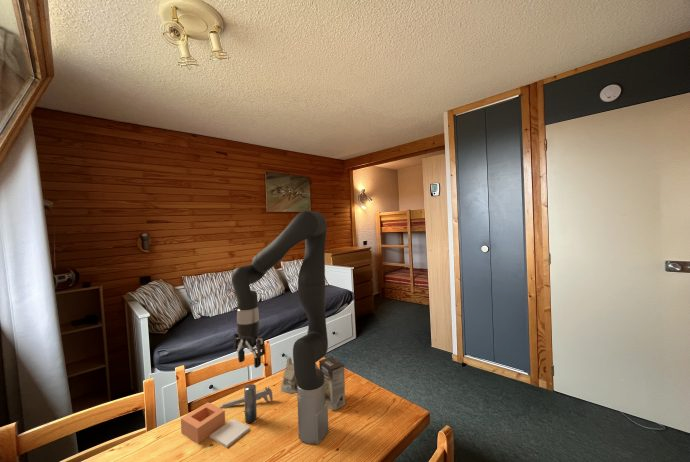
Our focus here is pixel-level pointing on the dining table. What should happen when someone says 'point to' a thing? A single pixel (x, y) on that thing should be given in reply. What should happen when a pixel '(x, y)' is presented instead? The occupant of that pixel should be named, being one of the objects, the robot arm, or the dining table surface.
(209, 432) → the block
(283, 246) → the robot arm
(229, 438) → the mat
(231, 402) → the caliper
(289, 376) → the ceramic cottage
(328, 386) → the coffee box
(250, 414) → the dark grey bar
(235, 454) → the dining table surface
